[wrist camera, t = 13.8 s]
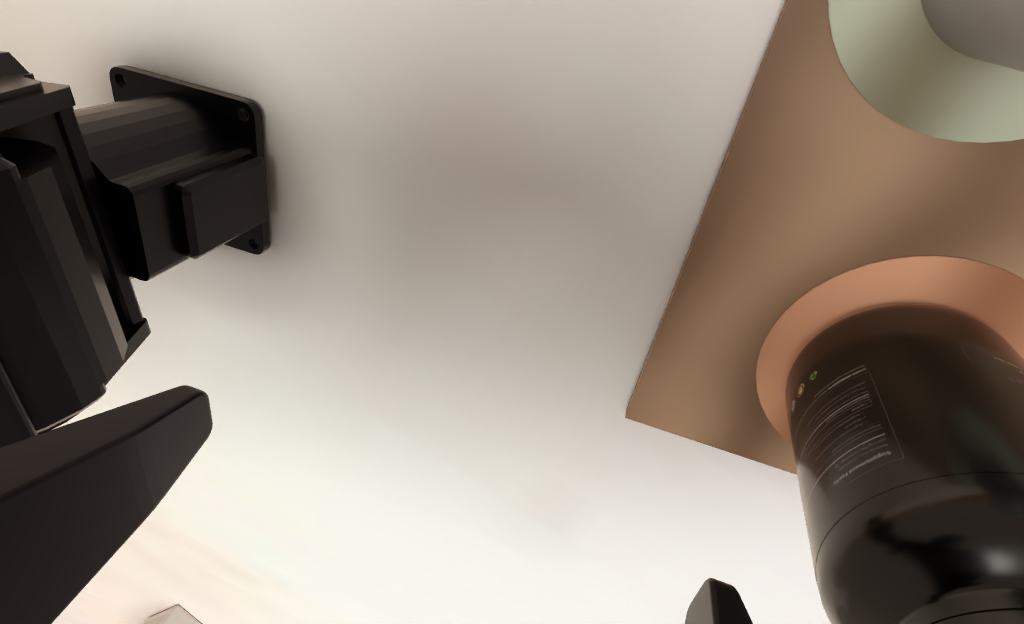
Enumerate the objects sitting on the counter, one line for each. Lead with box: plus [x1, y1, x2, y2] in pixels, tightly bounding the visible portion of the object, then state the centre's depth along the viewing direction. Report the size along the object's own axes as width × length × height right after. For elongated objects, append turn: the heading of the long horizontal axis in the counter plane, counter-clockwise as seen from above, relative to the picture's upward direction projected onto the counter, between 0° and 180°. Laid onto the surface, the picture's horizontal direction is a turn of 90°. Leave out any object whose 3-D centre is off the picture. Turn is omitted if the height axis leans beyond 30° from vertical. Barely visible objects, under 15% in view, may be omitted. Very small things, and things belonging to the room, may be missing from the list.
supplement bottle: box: [785, 305, 1024, 624], centre depth 14 cm, size 7×7×12 cm
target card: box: [625, 0, 1024, 474], centre depth 17 cm, size 12×22×1 cm, turn 170°
